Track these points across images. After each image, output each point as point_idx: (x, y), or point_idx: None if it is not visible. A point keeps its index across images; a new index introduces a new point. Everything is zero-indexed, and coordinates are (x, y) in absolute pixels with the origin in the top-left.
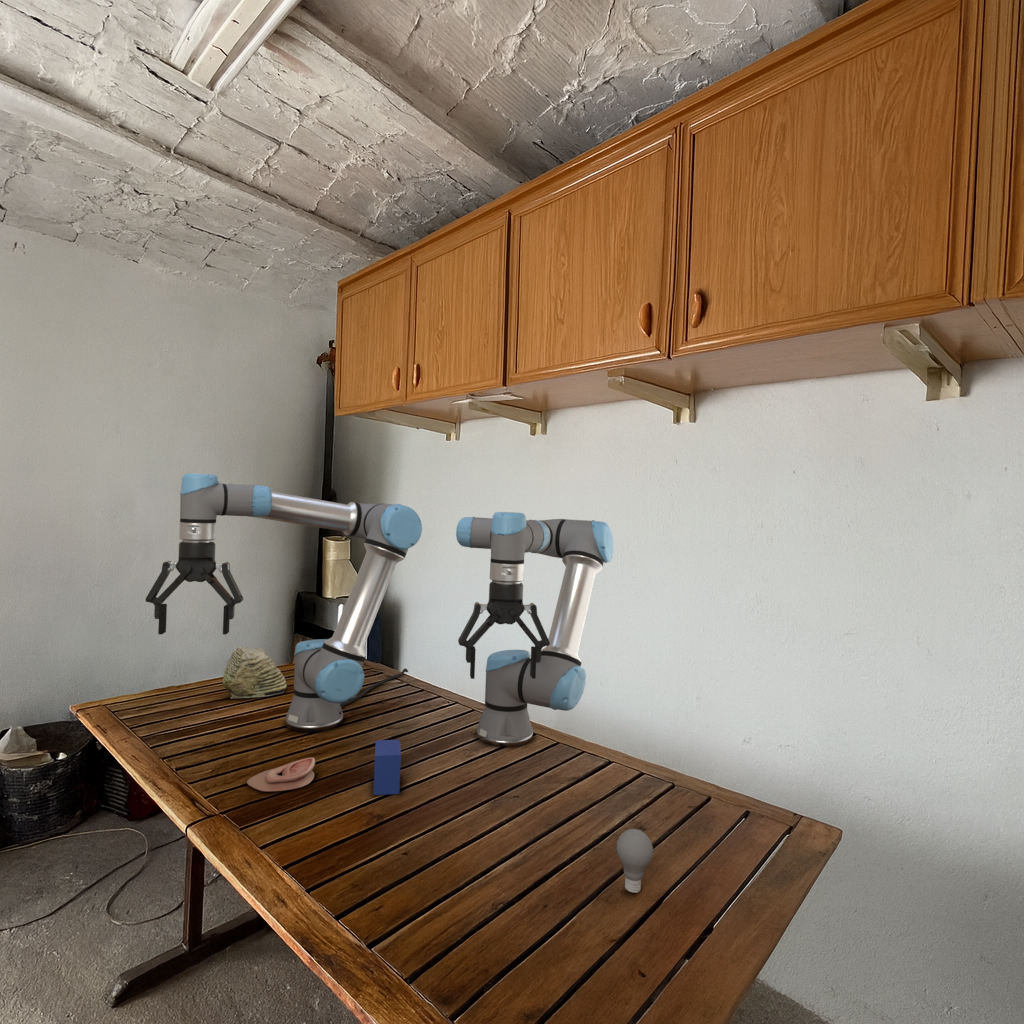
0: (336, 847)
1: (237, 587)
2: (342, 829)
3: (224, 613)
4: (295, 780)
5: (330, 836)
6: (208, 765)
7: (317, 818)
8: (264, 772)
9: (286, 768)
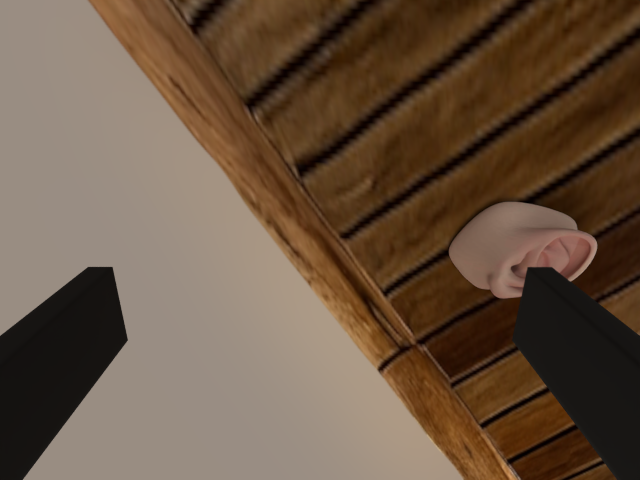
0: (574, 433)
1: None
2: None
3: (621, 473)
4: None
5: None
6: (359, 156)
7: None
8: (486, 251)
9: (531, 255)
